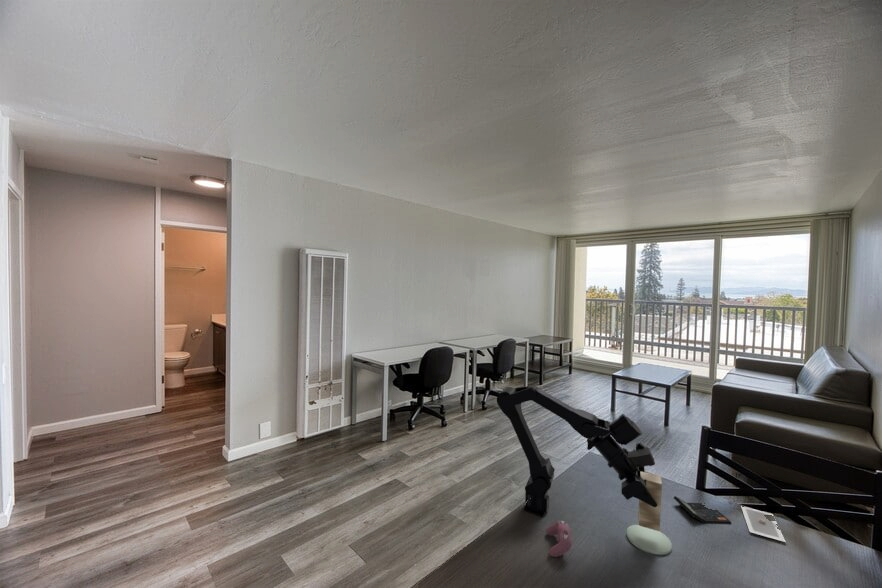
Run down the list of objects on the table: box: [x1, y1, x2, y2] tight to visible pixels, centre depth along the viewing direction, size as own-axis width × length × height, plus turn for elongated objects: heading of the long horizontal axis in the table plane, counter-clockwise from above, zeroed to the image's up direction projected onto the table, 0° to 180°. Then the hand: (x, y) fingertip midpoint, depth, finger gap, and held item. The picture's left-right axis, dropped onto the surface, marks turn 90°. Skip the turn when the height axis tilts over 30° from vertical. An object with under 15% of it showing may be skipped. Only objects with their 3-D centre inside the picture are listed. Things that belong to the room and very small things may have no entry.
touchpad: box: [740, 505, 787, 543], centre depth 110 cm, size 8×15×2 cm, turn 148°
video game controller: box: [545, 519, 573, 558], centre depth 99 cm, size 10×5×7 cm, turn 170°
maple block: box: [637, 471, 663, 532], centre depth 102 cm, size 5×5×13 cm
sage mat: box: [626, 524, 673, 556], centre depth 102 cm, size 11×11×1 cm
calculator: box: [673, 495, 732, 525], centre depth 115 cm, size 9×12×3 cm
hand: (655, 501), depth 101 cm, fingers closed on maple block, 5 cm apart
